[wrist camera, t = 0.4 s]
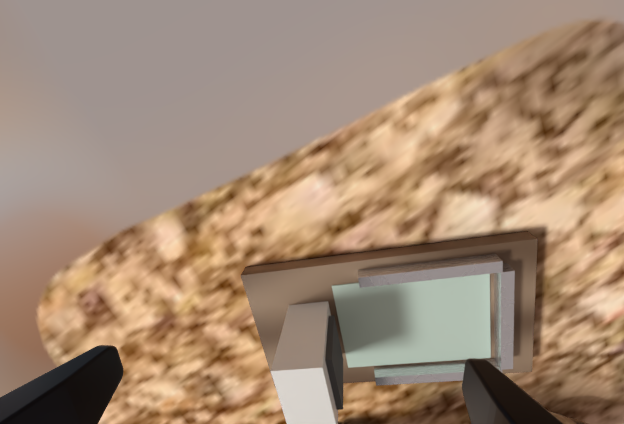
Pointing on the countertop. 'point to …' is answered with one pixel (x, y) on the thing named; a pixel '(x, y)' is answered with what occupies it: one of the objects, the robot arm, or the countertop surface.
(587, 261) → the countertop surface
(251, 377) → the countertop surface
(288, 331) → the block
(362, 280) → the rail guides
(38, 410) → the robot arm
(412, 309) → the rail board
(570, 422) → the metal grooved wheel
